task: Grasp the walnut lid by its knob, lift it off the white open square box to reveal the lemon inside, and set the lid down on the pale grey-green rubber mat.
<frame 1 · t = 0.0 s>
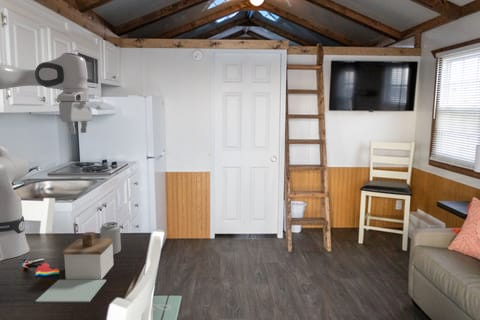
hand: (78, 133, 142), 48 cm above the table, fingers open, 8 cm apart
mat: (72, 290, 116), on the table
lid: (89, 247, 129), point 9 cm above the table, touching white open square box
lemon: (90, 272, 130), resting in white open square box
can: (111, 253, 148), on the table
white open square box: (90, 271, 130), on the table
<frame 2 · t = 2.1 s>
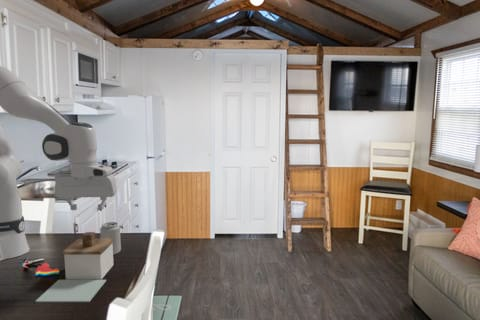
hand: (87, 209, 127), 23 cm above the table, fingers open, 8 cm apart
nothing on the table moved.
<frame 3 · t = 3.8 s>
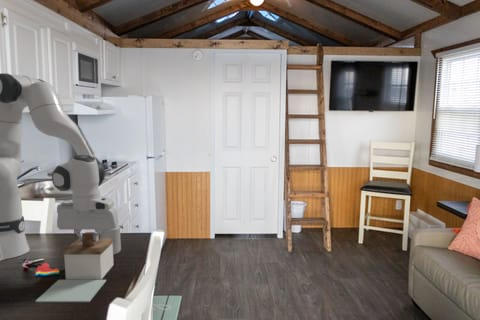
hand: (89, 241, 128), 11 cm above the table, fingers closed on lid, 3 cm apart
lid: (89, 247, 129), point 9 cm above the table, touching gripper, white open square box
everything else where it was.
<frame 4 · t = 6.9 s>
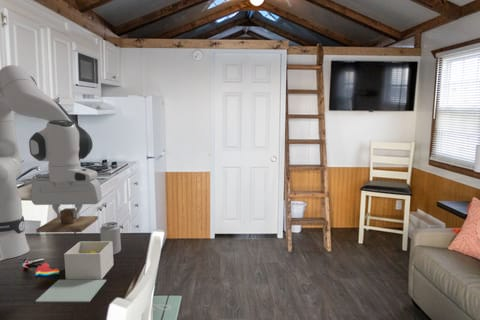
hand: (68, 218, 113), 24 cm above the table, fingers closed on lid, 3 cm apart
lid: (69, 225, 113), point 21 cm above the table, touching gripper
everything else where it was.
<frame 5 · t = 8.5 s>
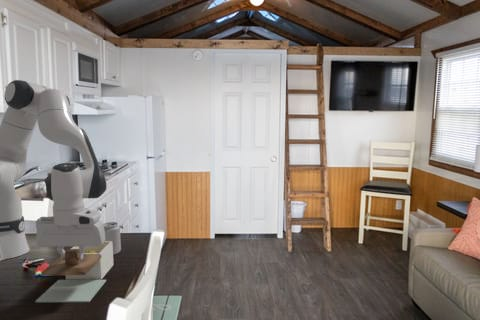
hand: (72, 259, 115), 10 cm above the table, fingers closed on lid, 3 cm apart
lid: (73, 266, 115), point 8 cm above the table, touching gripper
everything else where it was.
when the fingers open (4 cm above the table, at t = 9.9 s): lid drops 1 cm, resting on mat.
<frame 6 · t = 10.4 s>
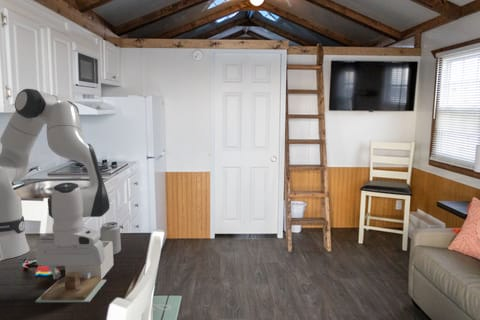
hand: (72, 278, 116), 4 cm above the table, fingers open, 8 cm apart
lid: (72, 289, 116), resting on mat
everything else where it was.
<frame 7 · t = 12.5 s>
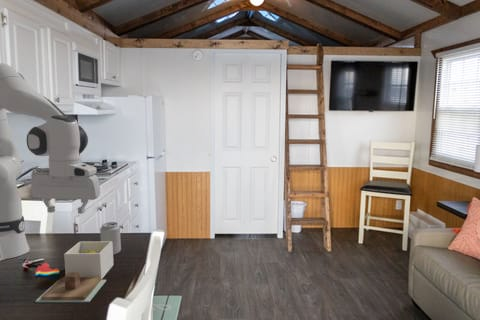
hand: (66, 212, 115), 25 cm above the table, fingers open, 8 cm apart
nothing on the table moved.
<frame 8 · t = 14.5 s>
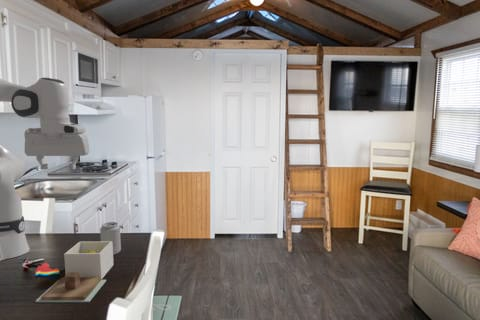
hand: (58, 169, 123), 37 cm above the table, fingers open, 8 cm apart
nothing on the table moved.
at the end: lid inside the target area on the mat (0.1 cm from its centre), point 0.4 cm above the mat's base; lid tilted 0°; the gripper is holding nothing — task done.
